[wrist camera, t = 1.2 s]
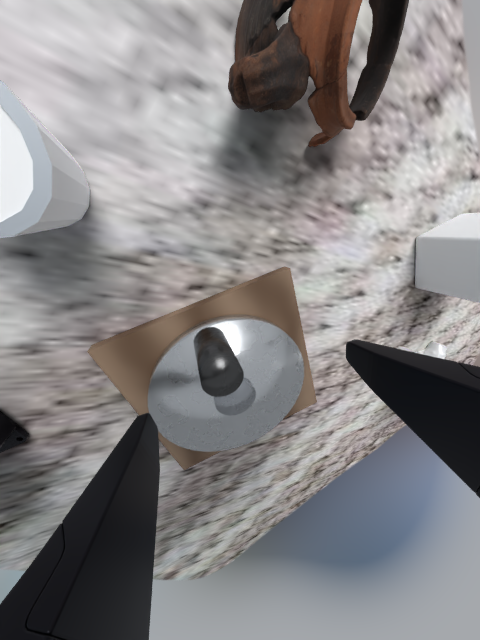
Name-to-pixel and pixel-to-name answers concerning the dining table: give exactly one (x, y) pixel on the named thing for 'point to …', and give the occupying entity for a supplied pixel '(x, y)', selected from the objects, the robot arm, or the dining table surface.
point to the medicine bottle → (450, 258)
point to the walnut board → (154, 337)
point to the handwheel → (225, 383)
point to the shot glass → (35, 174)
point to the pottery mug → (312, 58)
